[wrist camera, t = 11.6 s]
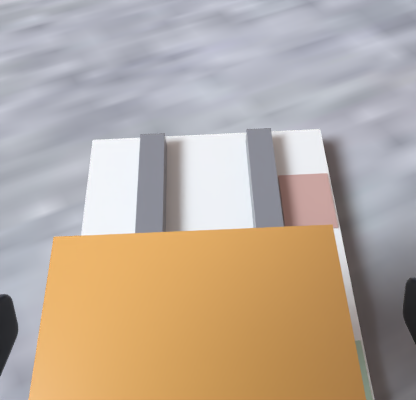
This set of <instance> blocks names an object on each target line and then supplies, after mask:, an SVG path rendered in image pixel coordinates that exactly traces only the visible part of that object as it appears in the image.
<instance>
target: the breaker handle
mask: <svg viewBox="0 0 416 400" xmlns="http://www.w3.org/2000/svg"><path fill="white" fill-rule="evenodd" d="M29 400H366V396H365V391H364V385H363V380H362V375H361V370H360V365H359V360H358V354H357V349H356V344H355V339H354V334H353V328H352V323H351V318H350V313H349V308H348V302H347V297H346V292H345V287H344V282H343V276H342V271H341V266H340V261H339V256H338V250H337V245H336V240H335V235H334V230H333V224H332V225H309V226H286V227H264V228H241V229H219V230H196V231H174V232H151V233H129V234H106V235H83V236H61V237H54V239H53V245H52V252H51V258H50V264H49V271H48V277H47V284H46V290H45V297H44V303H43V310H42V316H41V323H40V329H39V336H38V342H37V348H36V355H35V361H34V368H33V374H32V381H31V387H30V394H29Z"/></svg>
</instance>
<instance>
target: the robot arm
mask: <svg viewBox="0 0 416 400" xmlns="http://www.w3.org/2000/svg"><path fill="white" fill-rule="evenodd" d="M403 317H404V320H405V323H406V325H407V327H408V329H409V331H410V333H411V335H412V337H413V340H414V342H415V344H416V278H410V279H409V280H407V283H406V287H405V296H404V304H403ZM17 334H18V323H17V318H16V314H15V309H14V305H13V301H12V299H11V297H10V296H9V295H6V294H1V295H0V376H1V374H2V371H3V369H4V367H5V364H6V362H7V359H8V357H9V355H10V352H11V350H12V347H13V345H14V342H15V340H16V338H17Z"/></svg>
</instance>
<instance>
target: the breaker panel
mask: <svg viewBox="0 0 416 400" xmlns="http://www.w3.org/2000/svg"><path fill="white" fill-rule="evenodd" d="M332 224H333V230H334V235H335V240H336V245H337V250H338V256H339V261H340V266H341V271H342V276H343V282H344V287H345V292H346V297H347V302H348V308H349V313H350V318H351V323H352V328H353V334H354V339H355V344H356V349H357V354H358V360H359V365H360V370H361V375H362V380H363V385H364V391H365V396H366V400H374V395H373V390H372V385H371V380H370V375H369V370H368V365H367V360H366V355H365V350H364V345H363V340H362V335H361V330H360V325H359V320H358V315H357V310H356V305H355V300H354V295H353V290H352V285H351V280H350V275H349V270H348V265H347V260H346V255H345V250H344V245H343V240H342V235H341V230H340V225H339V220H338V215H337V210H336V205H335V200H334V196H333V191H332V186H331V181H330V176H329V171H328V166H327V161H326V156H325V151H324V146H323V141H322V136H321V131H320V129H311V130H290V131H271V128H264V129H247V131H246V133H228V134H207V135H187V136H166V137H165V134H164V133H160V134H140V138H124V139H103V140H93V142H92V150H91V159H90V167H89V175H88V184H87V192H86V200H85V208H84V217H83V225H82V233H81V236H83V235H106V234H129V233H151V232H174V231H196V230H219V229H241V228H264V227H286V226H309V225H332Z"/></svg>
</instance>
